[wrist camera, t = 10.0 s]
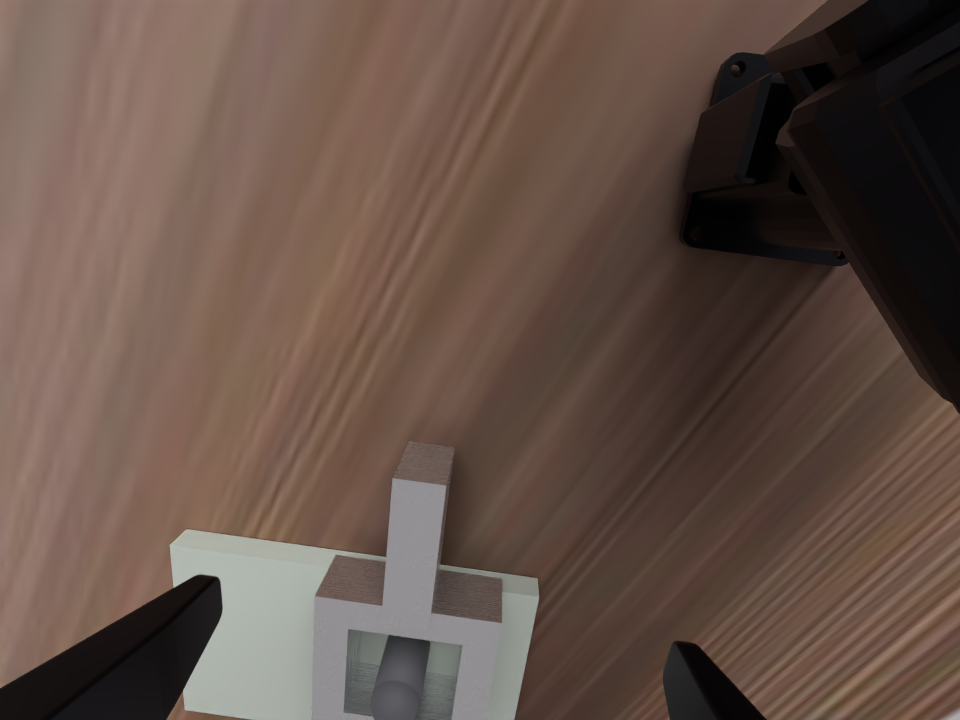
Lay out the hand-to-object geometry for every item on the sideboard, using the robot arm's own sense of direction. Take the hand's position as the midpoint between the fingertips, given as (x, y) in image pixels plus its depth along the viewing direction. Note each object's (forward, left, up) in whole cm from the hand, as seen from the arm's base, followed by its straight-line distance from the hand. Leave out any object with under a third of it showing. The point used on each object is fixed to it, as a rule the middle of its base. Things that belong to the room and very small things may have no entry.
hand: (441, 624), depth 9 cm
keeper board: (+5, +15, -12) cm, 19 cm away
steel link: (+2, +9, -11) cm, 14 cm away
